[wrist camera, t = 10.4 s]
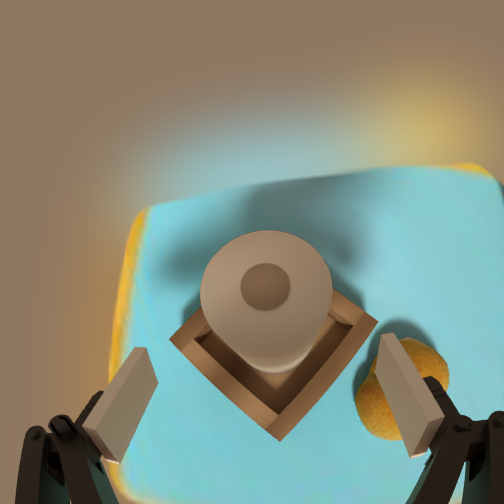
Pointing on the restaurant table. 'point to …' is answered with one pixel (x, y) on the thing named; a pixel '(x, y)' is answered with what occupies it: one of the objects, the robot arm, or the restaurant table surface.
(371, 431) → the bread roll
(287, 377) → the tray
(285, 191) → the restaurant table surface
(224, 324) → the paper roll
